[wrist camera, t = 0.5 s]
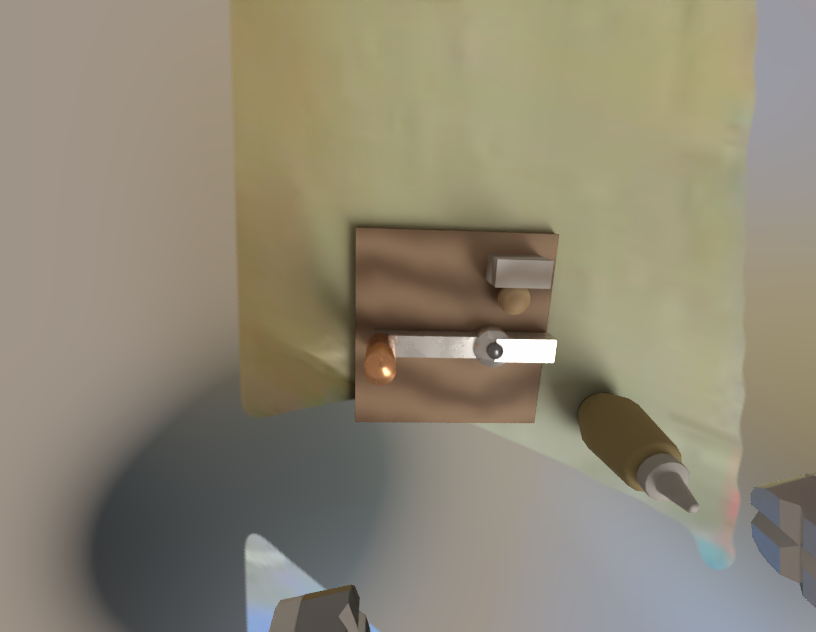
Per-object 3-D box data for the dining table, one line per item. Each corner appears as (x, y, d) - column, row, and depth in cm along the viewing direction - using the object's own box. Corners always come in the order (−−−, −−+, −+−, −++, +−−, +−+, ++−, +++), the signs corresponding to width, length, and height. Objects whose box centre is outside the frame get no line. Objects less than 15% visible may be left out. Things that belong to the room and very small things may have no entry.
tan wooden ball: (495, 279, 50) (504, 286, 46) (526, 280, 50) (536, 287, 46) (492, 309, 50) (500, 318, 47) (522, 310, 51) (532, 318, 47)
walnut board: (356, 227, 48) (353, 231, 43) (555, 233, 50) (575, 238, 44) (355, 417, 55) (352, 441, 49) (531, 418, 56) (546, 442, 51)
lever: (367, 322, 50) (363, 349, 41) (548, 326, 51) (582, 352, 42) (366, 357, 51) (363, 390, 42) (544, 360, 52) (575, 393, 44)
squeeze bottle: (578, 447, 58) (661, 555, 40) (560, 398, 56) (640, 490, 38) (635, 424, 57) (743, 524, 40) (619, 374, 55) (726, 456, 38)
